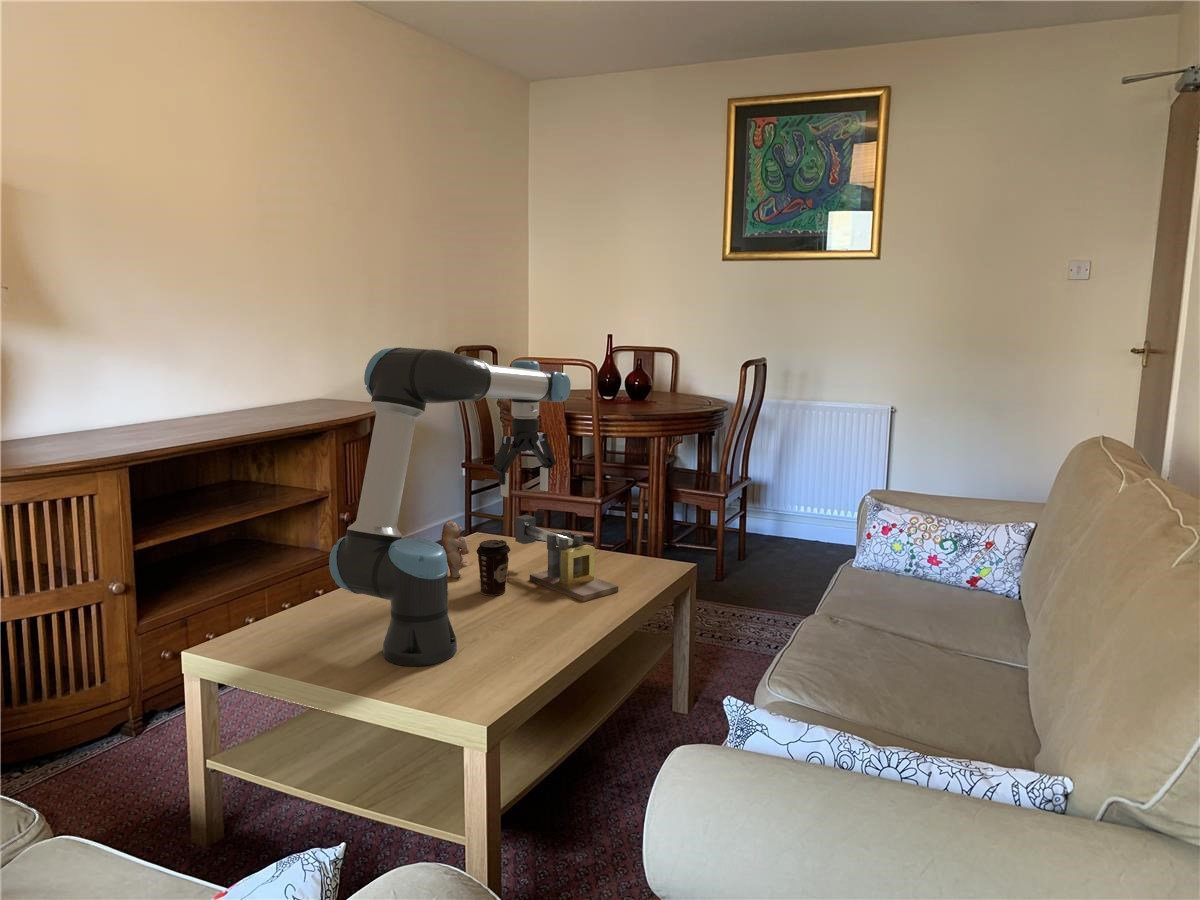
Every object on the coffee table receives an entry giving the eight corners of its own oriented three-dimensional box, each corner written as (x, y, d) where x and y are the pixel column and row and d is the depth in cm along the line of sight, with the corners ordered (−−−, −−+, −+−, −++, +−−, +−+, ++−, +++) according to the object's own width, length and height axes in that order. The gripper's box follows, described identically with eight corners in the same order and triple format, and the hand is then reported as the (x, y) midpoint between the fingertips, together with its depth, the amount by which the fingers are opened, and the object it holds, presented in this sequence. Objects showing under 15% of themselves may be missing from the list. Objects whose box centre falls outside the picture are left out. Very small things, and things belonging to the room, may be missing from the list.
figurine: (467, 579, 226) (467, 524, 224) (439, 578, 226) (438, 524, 224) (471, 572, 232) (471, 519, 230) (444, 571, 232) (443, 518, 230)
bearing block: (583, 601, 210) (583, 551, 208) (529, 580, 226) (529, 533, 224) (618, 591, 218) (619, 542, 216) (564, 571, 234) (564, 526, 232)
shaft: (565, 558, 220) (565, 532, 219) (515, 541, 236) (515, 516, 235) (577, 556, 223) (577, 530, 221) (526, 538, 239) (526, 514, 238)
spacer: (567, 586, 216) (568, 552, 215) (560, 583, 218) (560, 550, 217) (594, 579, 222) (594, 546, 221) (586, 577, 224) (587, 544, 223)
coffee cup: (513, 587, 219) (513, 539, 217) (507, 598, 211) (507, 548, 209) (481, 586, 220) (480, 538, 218) (473, 596, 212) (472, 546, 210)
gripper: (495, 421, 219) (495, 501, 222) (569, 416, 236) (567, 490, 239) (479, 418, 225) (479, 496, 228) (552, 413, 241) (551, 486, 244)
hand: (524, 493), depth 233 cm, fingers open, 13 cm apart
